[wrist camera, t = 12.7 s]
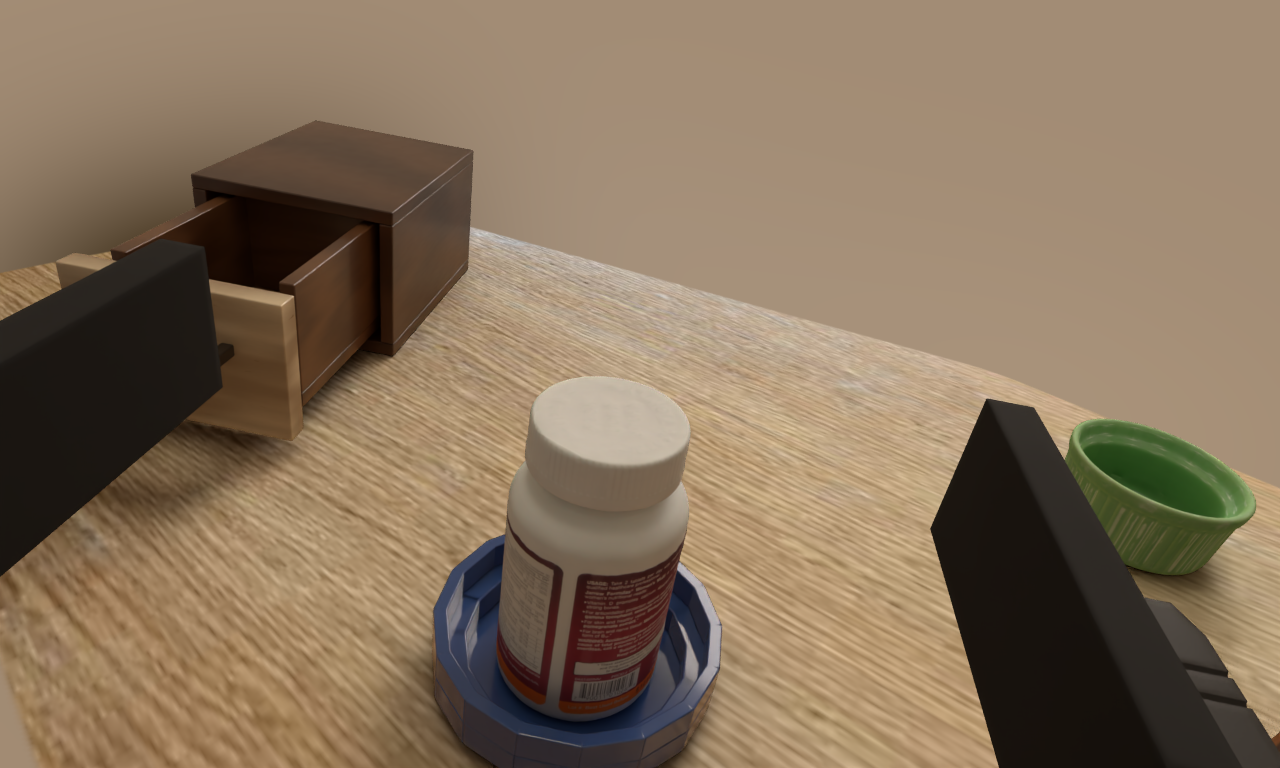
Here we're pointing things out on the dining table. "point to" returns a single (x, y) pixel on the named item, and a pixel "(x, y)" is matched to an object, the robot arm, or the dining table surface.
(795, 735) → the dining table surface
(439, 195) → the cabinet
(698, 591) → the bowl
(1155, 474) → the ramekin
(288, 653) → the dining table surface
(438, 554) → the dining table surface
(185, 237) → the drawer
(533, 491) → the pill bottle
